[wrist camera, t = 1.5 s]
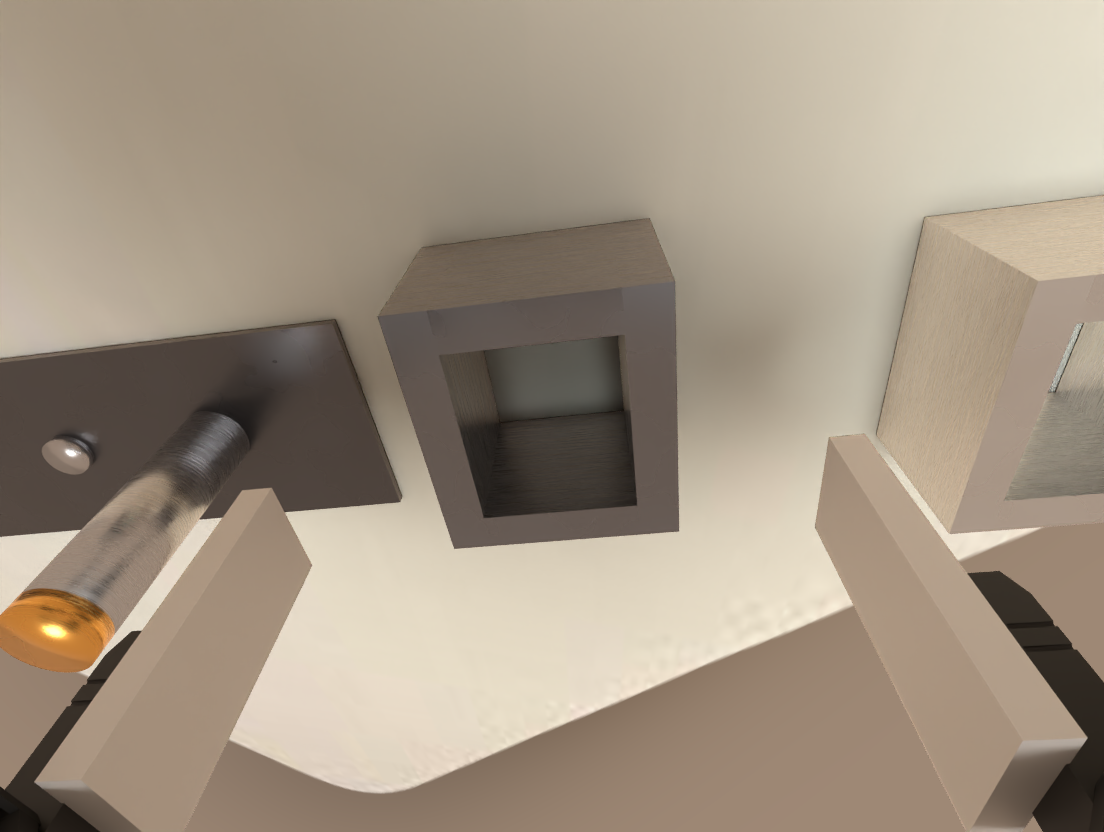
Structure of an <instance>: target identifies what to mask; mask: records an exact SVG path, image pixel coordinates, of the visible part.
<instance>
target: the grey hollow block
mask: <svg viewBox="0 0 1104 832" xmlns="http://www.w3.org/2000/svg"><path fill="white" fill-rule="evenodd" d="M378 319H379V322H380V325H381V328H382V331H383V334H384V337H385V340H386V344H387V347H388V350H389V353H390V356H391V359H392V362H393V365H394V368H395V371H396V374H397V377H398V380H399V383H400V386H401V389H402V392H403V395H404V398H405V401H406V404H407V407H408V410H409V413H410V416H411V419H412V422H413V425H414V428H415V431H416V434H417V437H418V440H419V444H420V447H421V450H422V453H423V456H424V459H425V462H426V465H427V468H428V471H429V474H430V477H431V480H432V483H433V486H434V489H435V492H436V495H437V498H438V501H439V504H440V507H441V510H442V513H443V516H444V519H445V522H446V525H447V528H448V531H449V534H450V537H451V541H452V544H453V547H454V549H458V548H471V547H483V546H496V545H509V544H522V543H535V542H548V541H561V540H574V539H586V538H599V537H612V536H625V535H638V534H651V533H664V532H677V531H679V495H678V434H677V374H676V313H675V280H674V278H673V275H672V273H671V270H670V268H669V265H668V263H667V260H666V258H665V255H664V253H663V250H662V248H661V245H660V243H659V240H658V238H657V236H656V233H655V231H654V228H653V226H652V223H651V221H650V218H648V219H640V220H632V221H625V222H617V223H609V224H601V225H594V226H586V227H578V228H570V229H563V230H555V231H547V232H539V233H532V234H524V235H516V236H508V237H500V238H493V239H485V240H477V241H469V242H462V243H454V244H446V245H438V246H431V247H423V248H421V249H420V251H419V252H418V254H417V255H416V257H415V259H414V260H413V262H412V263H411V265H410V266H409V268H408V270H407V271H406V273H405V274H404V276H403V277H402V279H401V280H400V282H399V284H398V285H397V287H396V288H395V290H394V291H393V293H392V295H391V296H390V298H389V299H388V301H387V302H386V304H385V306H384V307H383V309H382V310H381V312H380V313H379V315H378ZM609 336H618V342H619V354H620V367H621V380H622V393H623V405H624V411H615V412H605V413H594V414H584V415H574V416H564V417H554V418H543V419H533V420H523V421H513V422H502V423H500V420H499V416H498V411H497V407H496V403H495V398H494V394H493V389H492V385H491V381H490V376H489V372H488V367H487V363H486V358H485V354H484V350H491V349H500V348H509V347H518V346H527V345H536V344H546V343H555V342H564V341H573V340H582V339H591V338H600V337H609Z"/></svg>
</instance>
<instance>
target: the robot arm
mask: <svg viewBox="0 0 1104 832" xmlns="http://www.w3.org/2000/svg"><path fill="white" fill-rule="evenodd" d="M815 528H816V530H817V532H818V534H819V536H820V538H821V540H822V542H823V544H824V546H825V548H826V550H827V552H828V554H829V556H830V558H831V560H832V562H833V564H834V566H835V568H836V570H837V572H838V574H839V576H840V578H841V581H842V583H843V585H844V587H845V589H846V591H847V593H848V595H849V597H850V599H851V601H852V603H853V605H854V607H855V609H856V611H857V613H858V615H859V617H860V619H861V621H862V623H863V625H864V627H865V629H866V631H867V633H868V635H869V637H870V639H871V641H872V643H873V645H874V647H875V649H876V651H877V653H878V655H879V657H880V659H881V661H882V663H883V665H884V667H885V669H886V671H887V673H888V675H889V677H890V679H891V682H892V684H893V686H894V688H895V690H896V692H897V693H898V696H899V698H900V700H901V702H902V704H903V706H904V708H905V710H906V712H907V713H908V716H909V718H910V720H911V722H912V724H913V726H914V728H915V730H916V732H917V734H918V736H919V738H920V740H921V742H922V744H923V746H924V748H925V750H926V752H927V754H928V756H929V758H930V760H931V762H932V764H933V766H934V768H935V770H936V772H937V774H938V777H939V779H940V780H941V783H942V785H943V786H944V788H945V791H946V793H947V795H948V797H949V799H950V801H951V803H952V805H953V807H954V809H955V811H956V813H957V815H958V817H959V818H960V821H961V823H962V825H963V827H964V829H965V831H966V832H1022V831H1023V830H1024V828H1025V827H1026V825H1027V824H1028V823H1029V821H1030V819H1031V818H1032V817H1033V816H1034V817H1035V819H1036V821H1037V822H1038V824H1039V826H1040V827H1041V829H1042V831H1043V832H1104V682H1103V681H1102V680H1101V679H1100V677H1099V676H1098V675H1097V674H1096V672H1095V671H1094V670H1093V669H1092V668H1091V666H1090V665H1089V664H1088V663H1087V661H1086V660H1085V659H1084V658H1083V657H1082V655H1081V654H1080V653H1079V652H1078V651H1077V650H1074V649H1073V648H1072V643H1071V642H1070V641H1069V639H1068V638H1067V637H1066V636H1065V635H1064V633H1063V632H1062V631H1061V630H1060V629H1059V627H1057V626H1056V627H1055V626H1054V624H1053V620H1052V619H1051V618H1050V616H1049V615H1048V614H1047V613H1046V611H1045V610H1044V609H1043V608H1042V607H1041V605H1040V604H1039V603H1038V602H1037V601H1036V599H1035V598H1034V597H1033V596H1032V594H1031V593H1029V592H1028V591H1026V590H1025V589H1024V588H1022V587H1021V586H1019V585H1018V584H1017V583H1015V582H1014V581H1013V580H1011V579H1010V578H1008V577H1007V576H1005V575H1004V574H1003V573H1001V572H1000V571H994V572H979V573H966V571H965V570H964V569H963V567H962V566H961V564H960V563H959V562H958V560H957V559H956V558H955V556H954V555H953V554H952V552H951V551H950V549H949V548H948V547H947V545H946V544H945V543H944V541H943V540H942V539H941V537H940V536H939V534H938V533H937V532H936V530H935V529H934V528H933V526H932V525H931V524H930V522H929V521H928V519H927V518H926V517H925V515H924V514H923V513H922V511H921V510H920V509H919V507H918V506H917V504H916V503H915V502H914V500H913V499H912V498H911V496H910V495H909V494H908V492H907V491H906V489H905V488H904V487H903V485H902V484H901V483H900V481H899V480H898V479H897V477H896V476H895V474H894V473H893V472H892V470H891V469H890V468H889V466H888V465H887V464H886V462H885V461H884V459H883V458H882V457H881V455H880V454H879V453H878V451H877V450H876V449H875V447H874V446H873V444H872V443H871V442H870V440H869V439H868V438H867V436H866V435H865V434H858V435H847V436H836V437H829V440H828V446H827V453H826V459H825V466H824V472H823V478H822V485H821V491H820V498H819V504H818V510H817V517H816V523H815ZM311 567H312V564H311V562H310V560H309V558H308V556H307V555H306V553H305V551H304V549H303V547H302V545H301V543H300V541H299V539H298V537H297V535H296V533H295V531H294V530H293V528H292V526H291V524H290V522H289V520H288V518H287V516H286V514H285V512H284V510H283V508H282V507H281V505H280V503H279V501H278V499H277V497H276V495H275V493H274V491H273V489H272V488H263V489H252V490H242V491H241V493H240V494H239V496H238V497H237V498H236V500H235V501H234V503H233V504H232V505H231V507H230V508H229V510H228V511H227V512H226V514H225V515H224V517H223V518H222V519H221V521H220V522H219V524H218V525H217V526H216V528H215V529H214V531H213V532H212V533H211V535H210V536H209V538H208V539H207V540H206V542H205V543H204V545H203V546H202V547H201V549H200V550H199V552H198V553H197V554H196V556H195V557H194V559H193V560H192V561H191V563H190V564H189V566H188V567H187V568H186V570H185V571H184V573H183V574H182V575H181V577H180V578H179V580H178V581H177V582H176V584H175V585H174V587H173V588H172V589H171V591H170V592H169V594H168V595H167V596H166V598H165V599H164V601H163V602H162V603H161V605H160V606H159V608H158V609H157V610H156V612H155V613H154V615H153V616H152V617H151V619H150V620H149V622H148V623H147V625H146V626H145V627H144V629H143V630H142V631H132V632H131V633H129V634H128V635H127V636H126V637H125V638H124V639H123V640H122V641H120V642H119V643H118V644H117V645H116V646H115V647H114V648H113V649H111V650H110V651H109V652H108V653H107V654H106V655H105V656H104V658H103V659H102V660H101V662H100V663H99V664H98V666H97V667H96V668H95V670H94V671H93V672H92V674H91V675H90V676H89V678H88V679H87V684H86V685H83V686H82V687H81V689H80V690H79V691H78V693H77V694H76V695H75V697H74V698H73V699H72V701H71V702H72V704H71V706H68V707H66V709H65V710H64V711H63V713H62V714H61V715H60V717H59V718H58V719H57V721H56V722H55V724H54V725H53V726H52V728H51V729H50V730H49V732H48V733H47V734H46V736H45V737H44V738H43V740H42V741H41V742H40V744H39V745H38V746H37V748H36V749H35V750H34V752H33V753H32V754H31V756H30V757H29V758H28V760H27V761H26V763H25V764H24V765H23V767H22V768H21V769H20V771H19V772H18V773H17V775H16V776H15V777H14V779H13V780H12V781H11V783H10V784H9V785H8V786H7V788H6V789H5V790H4V789H3V788H1V787H0V832H184V830H185V828H186V826H187V824H188V822H189V820H190V818H191V816H192V814H193V812H194V810H195V808H196V805H197V803H198V801H199V799H200V797H201V795H202V793H203V791H204V789H205V787H206V785H207V783H208V781H209V778H210V776H211V774H212V772H213V770H214V768H215V766H216V764H217V762H218V759H219V758H220V756H221V754H222V751H223V749H224V747H225V745H226V743H227V741H228V739H229V737H230V735H231V733H232V731H233V729H234V727H235V725H236V722H237V720H238V718H239V716H240V714H241V712H242V710H243V708H244V706H245V704H246V702H247V700H248V698H249V695H250V693H251V691H252V689H253V687H254V685H255V683H256V681H257V679H258V677H259V675H260V673H261V671H262V669H263V666H264V664H265V662H266V660H267V658H268V656H269V654H270V652H271V650H272V648H273V646H274V644H275V642H276V639H277V637H278V635H279V633H280V631H281V629H282V627H283V625H284V623H285V621H286V619H287V617H288V615H289V612H290V610H291V608H292V606H293V604H294V602H295V600H296V598H297V596H298V594H299V592H300V590H301V588H302V586H303V583H304V581H305V579H306V577H307V575H308V573H309V571H310V569H311Z"/></svg>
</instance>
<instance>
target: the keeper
mask: <svg viewBox="0 0 1104 832" xmlns="http://www.w3.org/2000/svg"><path fill="white" fill-rule="evenodd" d="M263 488H272V489H273V491H274V493H275V495H276V497H277V499H278V501H279V503H280V505H281V507H282V508H283V510H284V512H292V511H303V510H315V509H327V508H338V507H350V506H361V505H373V504H385V503H396V502H400V501H401V498H402V496H401V493H400V491H399V488H398V485H397V483H396V480H395V477H394V475H393V472H392V469H391V467H390V464H389V461H388V459H387V456H386V453H385V451H384V448H383V445H382V443H381V440H380V437H379V435H378V432H377V429H376V427H375V424H374V421H373V419H372V416H371V413H370V411H369V408H368V405H367V403H366V400H365V397H364V395H363V392H362V389H361V387H360V384H359V381H358V379H357V376H356V373H355V371H354V368H353V365H352V363H351V360H350V358H349V355H348V352H347V350H346V347H345V344H344V342H343V339H342V336H341V334H340V331H339V328H338V326H337V323H336V320H328V321H319V322H311V323H302V324H294V325H285V326H277V327H269V328H260V329H252V330H243V331H235V332H226V333H218V334H209V335H201V336H193V337H184V338H176V339H167V340H159V341H150V342H142V343H133V344H125V345H117V346H108V347H100V348H91V349H83V350H74V351H66V352H57V353H49V354H41V355H32V356H24V357H15V358H7V359H0V537H2V536H14V535H25V534H37V533H48V532H60V531H72V530H81V531H80V532H79V533H78V534H77V535H76V536H75V537H74V538H73V539H72V540H71V541H70V542H69V543H68V545H67V546H66V547H65V548H64V549H63V550H62V551H61V552H60V553H59V554H58V555H57V556H56V557H55V558H54V559H53V560H52V561H51V562H50V563H49V565H48V566H47V567H46V568H45V569H44V570H43V571H42V572H41V573H40V574H39V575H38V576H37V577H36V578H35V579H34V580H33V581H32V582H31V583H30V585H29V586H28V587H27V588H26V589H25V590H24V591H23V592H22V593H21V594H20V595H19V596H18V597H17V598H16V599H15V600H14V601H13V602H12V604H11V605H10V606H9V607H8V608H7V609H6V610H5V611H4V612H3V613H2V614H1V615H0V647H1V648H2V649H3V650H4V651H6V652H7V653H8V654H10V655H11V656H13V657H15V658H16V659H18V660H20V661H22V662H25V663H27V664H29V665H32V666H35V667H38V668H41V669H45V670H51V671H56V672H78V671H82V670H85V669H87V668H89V667H90V666H92V664H93V663H94V662H95V660H96V659H97V658H98V656H99V655H100V653H101V652H102V651H103V649H104V648H105V647H106V645H107V644H108V643H109V641H110V640H111V639H112V637H113V636H114V634H115V633H116V632H117V630H118V629H119V628H120V626H121V625H122V624H123V622H124V621H125V619H126V618H127V617H128V615H129V614H130V613H131V611H132V610H133V609H134V607H135V606H136V605H137V603H138V602H139V600H140V599H141V598H142V596H143V595H144V594H145V592H146V591H147V590H148V588H149V587H150V585H151V584H152V583H153V581H154V580H155V579H156V577H157V576H158V575H159V573H160V572H161V571H162V569H163V568H164V566H165V565H166V564H167V562H168V561H169V560H170V558H171V557H172V556H173V554H174V553H175V551H176V550H177V549H178V547H179V546H180V545H181V543H182V542H183V541H184V539H185V538H186V537H187V535H188V534H189V532H190V531H191V530H192V528H193V527H194V526H195V524H196V523H197V522H198V520H199V519H211V518H222V517H224V515H225V514H226V512H227V511H228V510H229V508H230V507H231V505H232V504H233V503H234V501H235V500H236V498H237V497H238V496H239V494H240V493H241V491H242V490H252V489H263Z"/></svg>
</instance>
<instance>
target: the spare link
mask: <svg viewBox="0 0 1104 832" xmlns="http://www.w3.org/2000/svg"><path fill="white" fill-rule="evenodd" d="M1079 323H1084V325H1083V327H1082V330H1081V332H1080V334H1079V337H1078V339H1077V342H1076V344H1075V346H1074V349H1073V351H1072V354H1071V356H1070V358H1069V361H1068V363H1067V366H1066V368H1065V370H1064V373H1063V375H1062V378H1061V380H1060V382H1059V385H1058V387H1057V390H1056V392H1050V393H1048V392H1049V389H1050V387H1051V384H1052V382H1053V379H1054V377H1055V374H1056V372H1057V370H1058V367H1059V365H1060V362H1061V360H1062V357H1063V355H1064V352H1065V350H1066V348H1067V345H1068V343H1069V340H1070V338H1071V335H1072V333H1073V330H1074V328H1075V326H1076V324H1079ZM876 435H877V437H878V438H879V439H880V441H881V442H882V443H883V445H884V446H885V447H886V449H887V450H888V452H889V453H890V454H891V456H892V457H893V458H894V460H895V461H896V462H897V464H898V465H899V466H900V468H901V469H902V471H903V472H904V473H905V475H906V476H907V477H908V479H909V480H910V481H911V483H912V484H913V485H914V487H915V488H916V490H917V491H918V492H919V494H920V495H921V496H922V498H923V499H924V500H925V502H926V503H927V505H928V506H929V507H930V509H931V510H932V511H933V513H934V514H935V515H936V517H937V518H938V519H939V521H940V522H941V524H942V525H943V526H944V528H945V529H946V530H947V532H948V533H949V534H955V533H969V532H982V531H996V530H1009V529H1023V528H1036V527H1050V526H1063V525H1077V524H1090V523H1104V195H1102V196H1094V197H1086V198H1077V199H1069V200H1061V201H1053V202H1045V203H1037V204H1029V205H1021V206H1013V207H1005V208H996V209H988V210H980V211H972V212H964V213H956V214H948V215H940V216H932V217H925V219H924V223H923V228H922V232H921V237H920V241H919V246H918V250H917V255H916V259H915V264H914V268H913V273H912V277H911V282H910V286H909V291H908V295H907V300H906V304H905V309H904V313H903V318H902V322H901V327H900V331H899V336H898V340H897V345H896V349H895V354H894V358H893V363H892V367H891V372H890V376H889V381H888V385H887V390H886V394H885V399H884V403H883V407H882V412H881V416H880V421H879V425H878V430H877V434H876Z"/></svg>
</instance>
